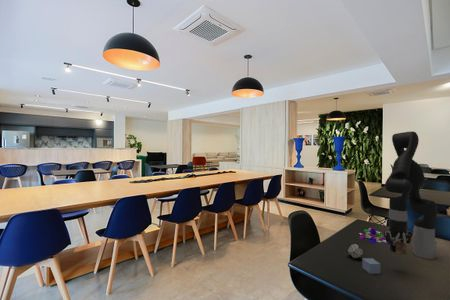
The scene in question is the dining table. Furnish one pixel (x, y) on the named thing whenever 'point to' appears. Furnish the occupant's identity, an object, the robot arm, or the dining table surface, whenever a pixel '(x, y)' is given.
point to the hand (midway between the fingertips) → (397, 251)
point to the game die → (355, 251)
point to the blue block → (371, 265)
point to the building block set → (373, 232)
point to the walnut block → (400, 248)
